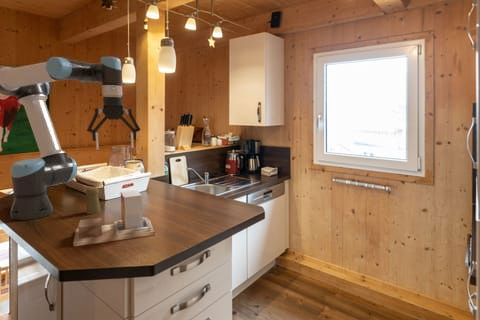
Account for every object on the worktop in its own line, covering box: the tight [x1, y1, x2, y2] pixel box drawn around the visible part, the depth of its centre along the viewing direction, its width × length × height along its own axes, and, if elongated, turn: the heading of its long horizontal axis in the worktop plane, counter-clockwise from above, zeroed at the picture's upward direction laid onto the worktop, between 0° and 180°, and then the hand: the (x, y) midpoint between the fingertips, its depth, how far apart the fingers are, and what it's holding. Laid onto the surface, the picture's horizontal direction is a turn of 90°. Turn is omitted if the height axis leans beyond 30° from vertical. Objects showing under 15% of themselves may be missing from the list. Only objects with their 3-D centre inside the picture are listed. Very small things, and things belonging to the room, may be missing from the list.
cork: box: [85, 186, 102, 215], centre depth 137 cm, size 6×6×11 cm
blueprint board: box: [72, 216, 156, 247], centre depth 113 cm, size 26×14×5 cm, turn 113°
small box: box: [120, 190, 144, 230], centre depth 115 cm, size 8×6×13 cm
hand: (115, 148), depth 130 cm, fingers open, 13 cm apart
